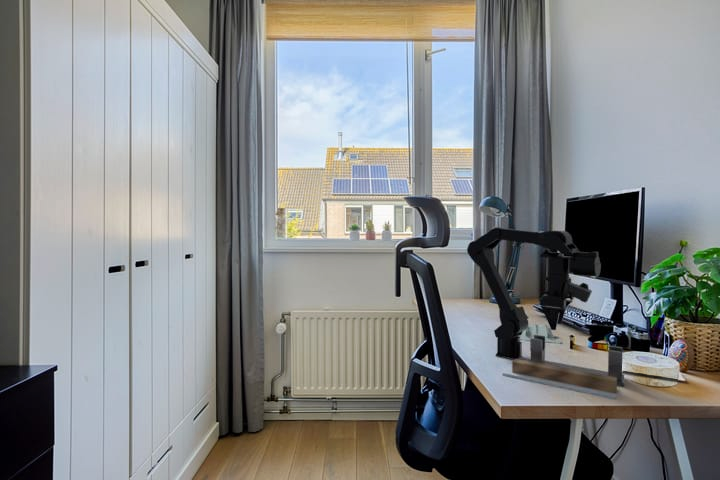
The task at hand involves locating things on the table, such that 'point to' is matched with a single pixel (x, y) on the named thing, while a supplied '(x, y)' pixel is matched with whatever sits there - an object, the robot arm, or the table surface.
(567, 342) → the table surface
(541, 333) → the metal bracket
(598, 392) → the blue-grey mat
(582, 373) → the walnut bar
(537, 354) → the dark grey u-shaped stand
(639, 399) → the table surface
